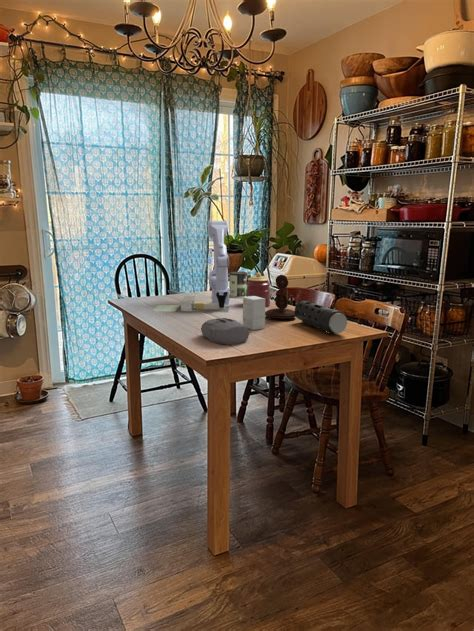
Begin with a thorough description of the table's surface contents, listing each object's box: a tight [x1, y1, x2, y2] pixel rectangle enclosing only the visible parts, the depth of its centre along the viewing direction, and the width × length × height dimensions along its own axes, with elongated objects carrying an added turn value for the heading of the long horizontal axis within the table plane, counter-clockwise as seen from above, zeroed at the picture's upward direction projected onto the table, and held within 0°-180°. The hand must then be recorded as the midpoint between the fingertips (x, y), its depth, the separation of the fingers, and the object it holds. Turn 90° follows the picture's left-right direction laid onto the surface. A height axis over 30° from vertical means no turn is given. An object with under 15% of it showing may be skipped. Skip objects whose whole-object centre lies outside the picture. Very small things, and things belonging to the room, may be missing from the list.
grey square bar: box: [180, 295, 196, 313], centre depth 245 cm, size 5×15×5 cm, turn 179°
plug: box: [193, 301, 226, 310], centre depth 245 cm, size 16×3×3 cm, turn 89°
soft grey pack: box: [200, 317, 250, 346], centre depth 189 cm, size 15×8×20 cm
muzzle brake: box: [294, 300, 348, 335], centre depth 206 cm, size 10×28×10 cm, turn 23°
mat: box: [152, 304, 230, 313], centre depth 245 cm, size 37×16×1 cm, turn 89°
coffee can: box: [228, 271, 248, 299], centre depth 283 cm, size 10×10×14 cm
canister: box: [246, 272, 271, 308], centre depth 256 cm, size 13×13×18 cm
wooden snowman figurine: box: [265, 274, 297, 321], centre depth 226 cm, size 15×15×20 cm
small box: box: [242, 296, 266, 331], centre depth 207 cm, size 8×6×13 cm
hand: (221, 307), depth 245 cm, fingers closed on plug, 3 cm apart
